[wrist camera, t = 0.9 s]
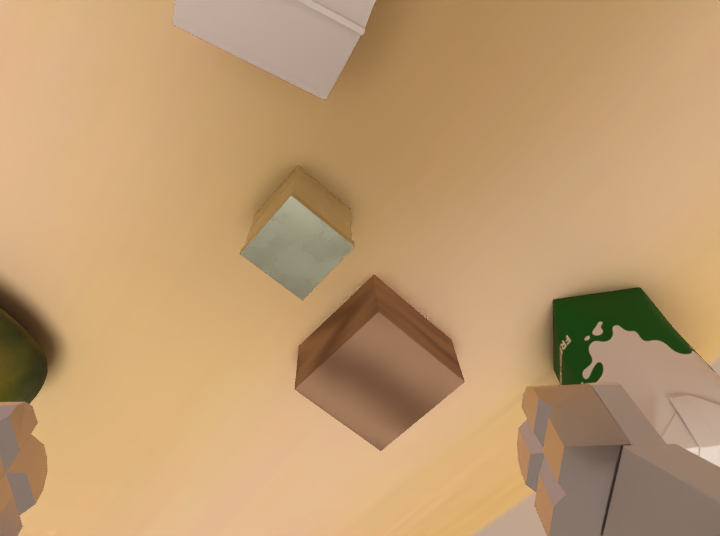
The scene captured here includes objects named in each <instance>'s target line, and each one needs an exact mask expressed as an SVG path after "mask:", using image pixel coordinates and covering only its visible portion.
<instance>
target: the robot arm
mask: <svg viewBox="0 0 720 536" xmlns="http://www.w3.org/2000/svg"><path fill="white" fill-rule="evenodd" d="M522 408H523V411H524V413H525V415H526V417H527V420H526V421H525V422H524V423H523V424H522V425H521V426H520V427H519V431H518V441H517V450H518V461H519V466H520V470H521V473H522V476H523V479H524V481H525V484H526V485H527V486H528V487H530V488H531V489H533V490H534V491H535V492H536V498H535V508H536V511H537V513H538V515H539V518H540V520H541V523H542V525H543V527H544V529H545V532H546V534H547V536H720V467H718V466H717V465H715V464H713V463H711V462H709V461H707V460H705V459H703V458H701V457H700V456H698V455H696V454H694V453H692V452H690V451H688V450H686V449H684V448H683V447H681V446H679V445H677V444H666V443H665V442H664V440H663V439H662V438H661V436H660V435H659V434H658V432H657V431H656V430H655V429H654V427H653V426H652V425H651V423H650V422H649V421H648V419H647V418H646V417H645V416H644V414H643V413H642V412H641V410H640V409H639V408H638V406H637V405H636V404H635V403H634V401H633V400H632V399H631V397H630V396H629V395H628V393H627V392H626V391H625V390H624V388H623V387H622V386H621V385H620V384H619V383H617V382H615V381H612V382H596V383H585V384H574V385H550V386H527V387H526V389H525V392H524V394H523V401H522ZM37 423H38V422H37V419H36V416H35V413H34V410H33V407H32V406H31V405H30V404H28V403H26V402H0V536H18V534H19V532H20V530H21V529H22V527H23V526H22V523H21V520H20V516H19V515H21V514H22V513H23V512H25V511H26V510H28V509H29V508H30V507H32V506H33V505H35V504H36V502H37V500H38V498H39V496H40V495H41V493H42V491H43V488H44V484H45V479H46V475H47V456H46V452H45V448H44V445H43V444H42V443H41V442H40V441H39V440H38V439H36V438H35V437H34V436H33V435H32V434H31V433H32V431H33V430H34V428H35V426H36V425H37Z"/></svg>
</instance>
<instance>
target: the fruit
mask: <svg viewBox="0 0 720 536" xmlns="http://www.w3.org/2000/svg"><path fill="white" fill-rule="evenodd" d="M46 375H47V360H46V357H45V355H44V352H43V350H42V348H41V347H40V345H39V344H38V343H37V342H36V340H35V339H34V338H33V337H32V335H31V334H30V333H29V332H28V331H27V330H26V329H25V328H24V327H22V326H21V325H20V324H19V323H18V322H17V321H16V320H14V319H13V318H12V317H11V316H10V315H9V314H7V313H6V312H5V311H4V310H2V309H1V308H0V402H26V403H28V404H30V403H31V401H32V400H33V399H34V398H35V397H36V395H37V394H38V392H39V391H40V389H41V388H42V386H43V384H44V381H45V379H46Z"/></svg>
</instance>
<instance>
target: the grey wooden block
mask: <svg viewBox="0 0 720 536" xmlns="http://www.w3.org/2000/svg"><path fill="white" fill-rule="evenodd" d="M353 248H354V241H353V240H352V235H351V220H350V208H349V207H347V206H346V205H345V204H344V203H343V202H341V201H340V200H339V199H338V198H336V197H335V196H334V195H333V194H332V193H330V192H329V191H328V190H327V189H326V188H324V187H323V186H322V185H321V184H320V183H318V182H317V181H316V180H315V179H314V178H312V177H311V176H310V175H309V174H308V173H306V172H305V171H304V170H303V169H302V168H300V167H299V166H297V167H296V168H295V169H294V170H293V172H292V173H291V174H290V175H289V176H288V177H287V178H286V180H285V181H284V182H283V183H282V184H281V185H280V187H279V188H278V189H277V190H276V191H275V192H274V193H273V195H272V196H271V197H270V198H269V199H268V200H267V201H266V203H265V204H264V205H263V206H262V207H261V208H260V209H259V211H258V212H257V213H256V214H255V216H254V219H253V222H252V225H251V228H250V231H249V234H248V237H247V240H246V243H245V245H244V246H243V248H242V249H241V252H240V254H241V255H242V256H243V257H245V258H246V259H247V260H249V261H250V262H251V263H253V264H254V265H256V266H257V267H258V268H260V269H261V270H262V271H264V272H265V273H266V274H268V275H269V276H270V277H272V278H273V279H274V280H276V281H277V282H278V283H280V284H281V285H282V286H284V287H285V288H286V289H288V290H289V291H291V292H292V293H293V294H295V295H296V296H297V297H299V298H300V299H301V300H303V299H304V298H305V297H306V296H307V295H308V294H309V293H310V292H311V291H312V290H313V289H314V288H315V287H316V286H317V285H318V284H319V283H320V282H321V281H322V280H323V279H324V278H325V277H326V276H327V275H328V273H329V272H330V271H331V270H332V269H333V268H334V267H335V266H336V265H337V264H338V263H339V262H340V261H341V260H342V259H343V258H344V257H345V256H346V255H347V254H348V253H349V252H350V251H351V250H352V249H353Z"/></svg>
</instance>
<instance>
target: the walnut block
mask: <svg viewBox="0 0 720 536" xmlns="http://www.w3.org/2000/svg"><path fill="white" fill-rule="evenodd" d="M464 382H465V381H464V378H463V375H462V372H461V369H460V366H459V363H458V359H457V356H456V353H455V350H454V347H453V344H452V341H451V339H450V338H448V337H447V336H446V335H445V334H444V333H443V332H441V331H440V330H439V329H438V328H437V327H435V326H434V325H433V324H432V323H431V322H429V321H428V320H427V319H426V318H425V317H424V316H422V315H421V314H420V313H419V312H418V311H416V310H415V309H414V308H413V307H412V306H410V305H409V304H408V303H407V302H406V301H405V300H403V299H402V298H401V297H400V296H399V295H397V294H396V293H395V292H394V291H393V290H391V289H390V288H389V287H388V286H387V285H386V284H384V283H383V282H382V281H381V280H380V279H378V278H377V277H376V276H375V275H373V276H372V277H371V278H370V279H369V280H368V281H367V282H366V283H365V284H364V285H363V286H362V287H361V288H360V289H359V290H358V291H357V292H356V293H354V294H353V295H352V296H351V297H350V298H349V299H348V300H347V301H346V302H345V303H344V304H343V305H342V306H341V307H340V308H339V309H338V310H337V311H336V312H334V313H333V314H332V315H331V316H330V317H329V318H328V319H327V320H326V321H325V322H324V323H323V324H322V325H321V326H320V327H319V328H318V329H317V330H316V331H315V332H313V333H312V334H311V335H310V336H309V337H308V338H307V339H306V340H305V341H304V342H303V343H302V344H301V345H300V346H299V350H298V360H297V371H296V381H295V390H296V391H298V392H299V393H300V394H302V395H303V396H305V397H306V398H307V399H309V400H310V401H312V402H313V403H314V404H316V405H317V406H319V407H320V408H321V409H323V410H324V411H326V412H327V413H328V414H330V415H331V416H333V417H334V418H335V419H337V420H338V421H340V422H341V423H342V424H344V425H345V426H347V427H348V428H349V429H351V430H352V431H354V432H355V433H356V434H358V435H359V436H361V437H362V438H363V439H365V440H366V441H368V442H369V443H370V444H372V445H373V446H375V447H376V448H377V449H379V450H380V451H381V450H383V449H384V448H385V447H386V446H388V445H389V444H390V443H391V442H392V441H394V440H395V439H396V438H397V437H398V436H400V435H401V434H402V433H403V432H405V431H406V430H407V429H408V428H409V427H411V426H412V425H413V424H414V423H415V422H417V421H418V420H419V419H420V418H421V417H423V416H424V415H425V414H426V413H428V412H429V411H430V410H431V409H432V408H434V407H435V406H436V405H437V404H438V403H440V402H441V401H442V400H443V399H445V398H446V397H447V396H448V395H449V394H451V393H452V392H453V391H454V390H455V389H457V388H458V387H459V386H460V385H461V384H463V383H464Z"/></svg>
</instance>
